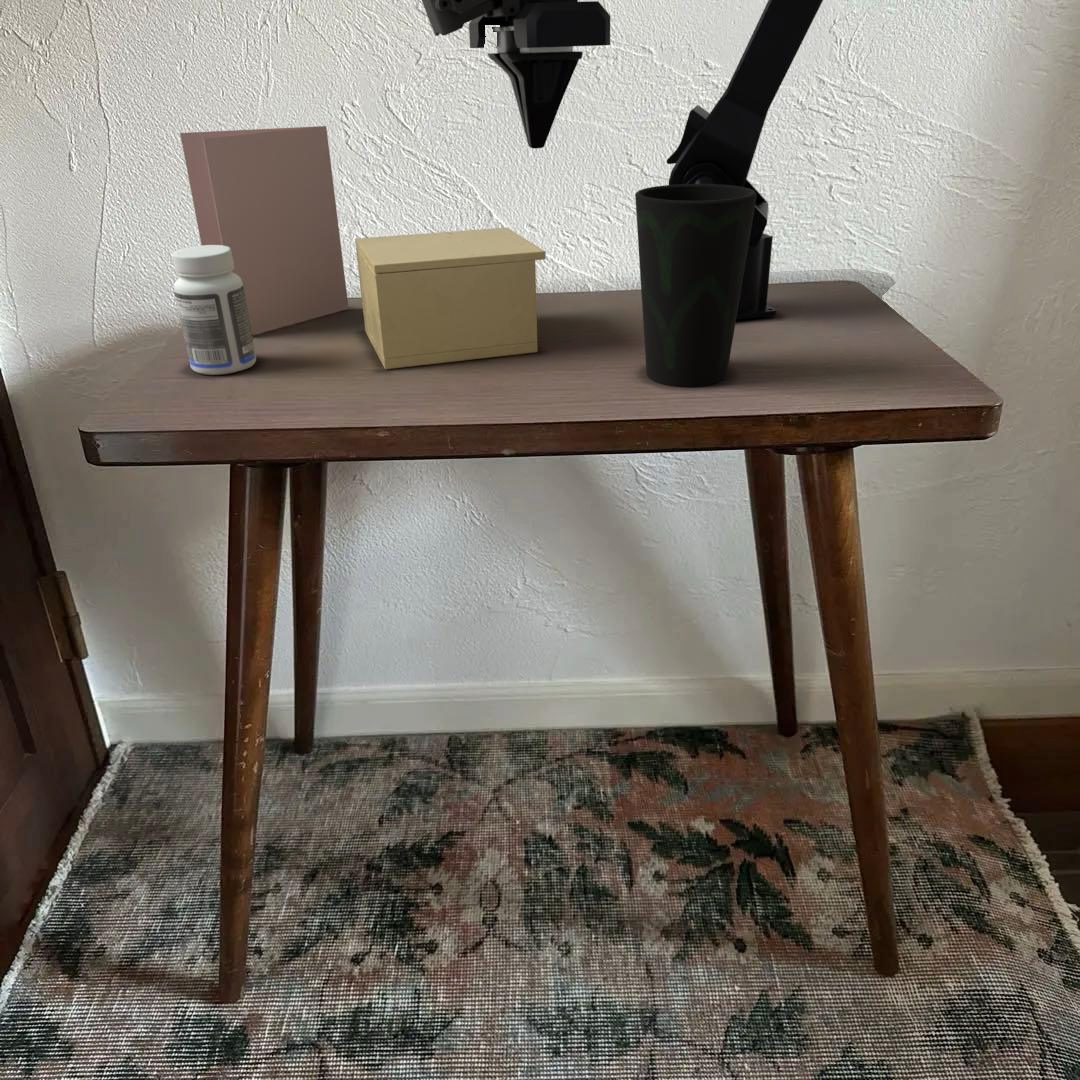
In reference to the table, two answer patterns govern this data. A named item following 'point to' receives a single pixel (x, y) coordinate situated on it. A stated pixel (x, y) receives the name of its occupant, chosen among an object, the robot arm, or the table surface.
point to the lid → (446, 250)
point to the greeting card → (271, 218)
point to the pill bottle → (213, 310)
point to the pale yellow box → (449, 312)
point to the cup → (691, 277)
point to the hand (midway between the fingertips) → (536, 147)
